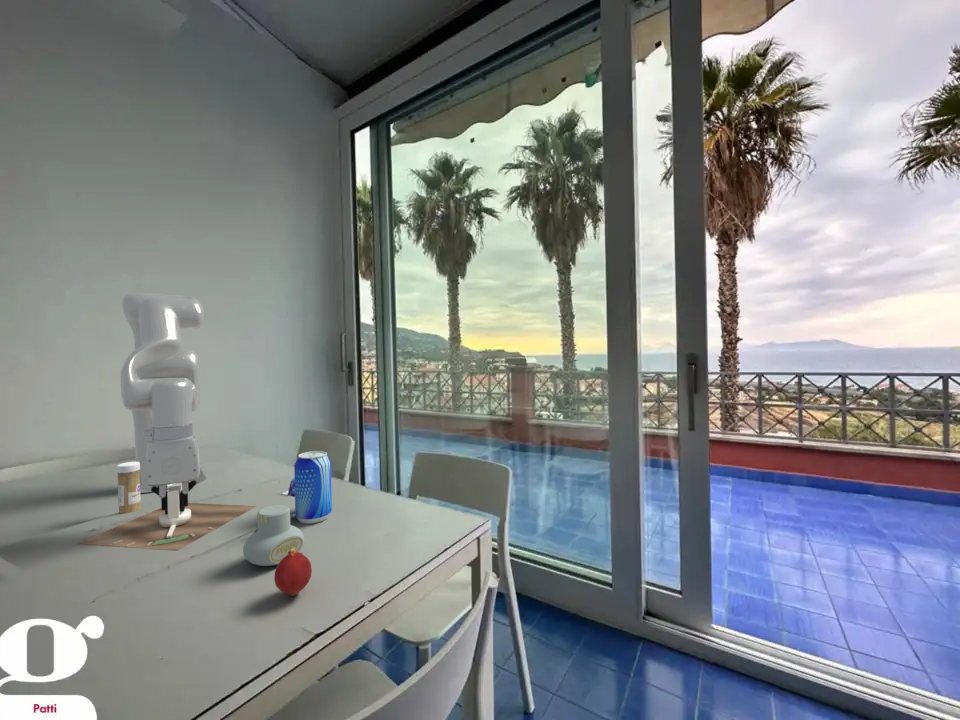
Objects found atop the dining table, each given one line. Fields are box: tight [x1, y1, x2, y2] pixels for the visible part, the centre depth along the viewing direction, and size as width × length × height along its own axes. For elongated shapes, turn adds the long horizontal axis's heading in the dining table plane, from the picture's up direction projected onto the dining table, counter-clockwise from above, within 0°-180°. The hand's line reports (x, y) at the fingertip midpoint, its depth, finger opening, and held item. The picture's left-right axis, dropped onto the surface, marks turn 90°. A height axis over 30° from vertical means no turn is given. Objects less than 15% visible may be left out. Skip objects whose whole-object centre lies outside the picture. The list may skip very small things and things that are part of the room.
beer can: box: [293, 450, 333, 525], centre depth 104 cm, size 8×8×16 cm
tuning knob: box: [159, 483, 191, 538], centre depth 95 cm, size 12×6×8 cm, turn 29°
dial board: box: [76, 502, 257, 551], centre depth 98 cm, size 24×24×2 cm
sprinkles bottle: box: [116, 461, 142, 514], centre depth 106 cm, size 5×5×14 cm
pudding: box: [282, 477, 295, 498], centre depth 120 cm, size 12×12×5 cm
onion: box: [274, 549, 313, 597], centre depth 71 cm, size 6×6×8 cm
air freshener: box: [242, 504, 305, 567], centre depth 83 cm, size 11×8×10 cm
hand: (175, 510), depth 98 cm, fingers closed on tuning knob, 2 cm apart
